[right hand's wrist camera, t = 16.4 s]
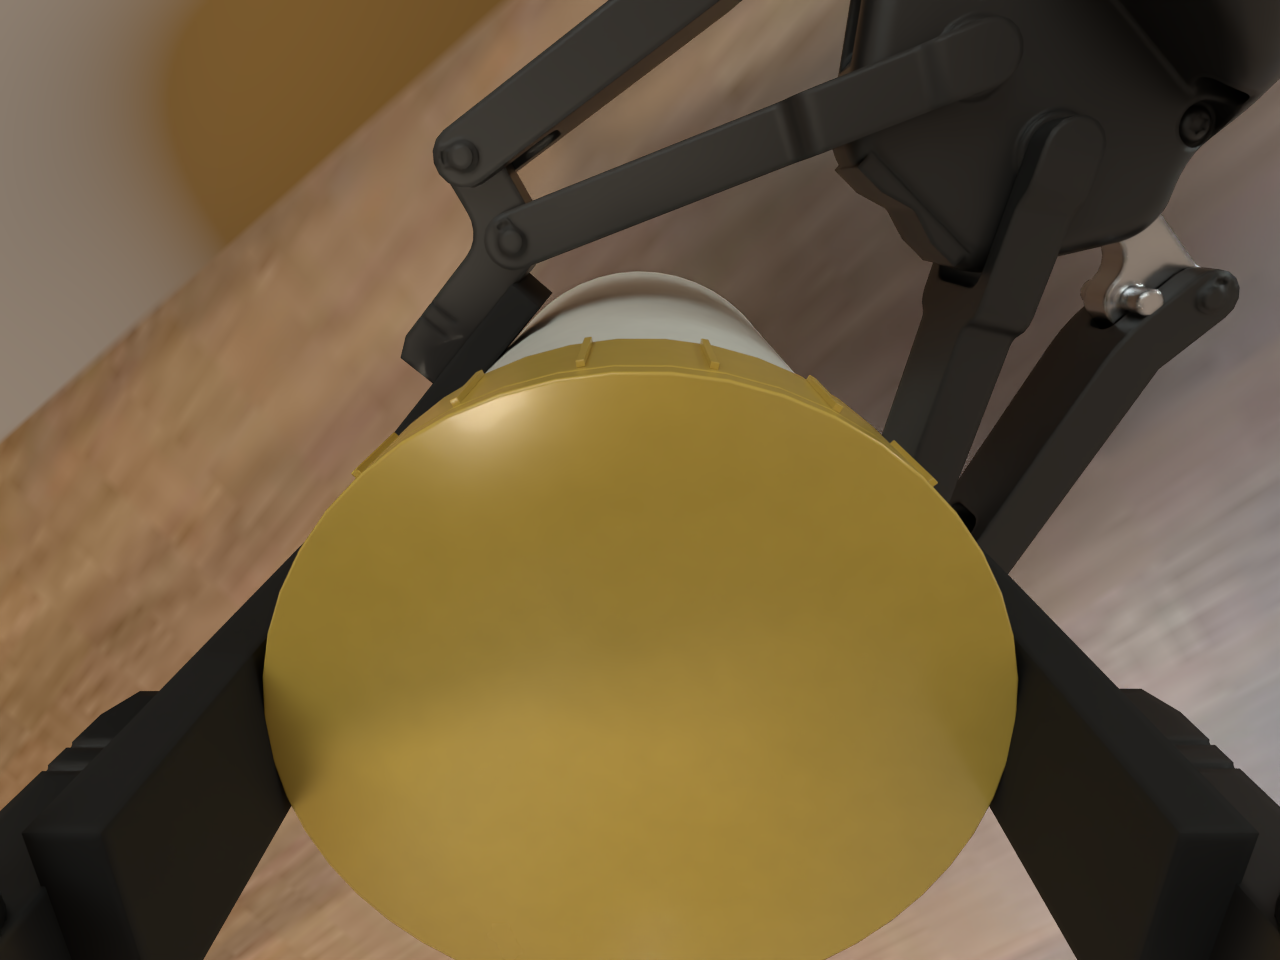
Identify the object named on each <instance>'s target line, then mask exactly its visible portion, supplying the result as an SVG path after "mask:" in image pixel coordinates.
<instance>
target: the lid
mask: <svg viewBox="0 0 1280 960" xmlns="http://www.w3.org/2000/svg"><path fill="white" fill-rule="evenodd" d="M351 474H352V475H353V476H354V477H355V478H356V479H355V480H354V481H353V482H352V483H351V484H350V485H349V486H348V487H347V488H346V490H345V491H344V492H343V493H342V494H341V495H340V496H339V497H338V498H337V499H336V500H335V501H334V502H333V503H332V505H331V506H330V507H329V508H328V509H327V510H326V511H325V513H324V514H323V516H322V517H321V519H320V520H319V521H318V523H317V524H316V526H315V527H314V529H313V530H312V532H311V533H310V535H309V536H308V538H307V539H306V541H305V542H304V543H303V545H302V546H301V548H300V549H299V551H298V553H297V556H296V558H295V560H294V561H293V564H292V566H291V568H290V570H289V573H288V575H287V577H286V579H285V581H284V583H283V585H282V587H281V590H280V592H279V596H278V599H277V603H276V606H275V610H274V613H273V617H272V620H271V624H270V627H269V631H268V635H267V644H266V652H265V661H264V669H263V695H264V714H265V720H266V725H267V730H268V735H269V740H270V744H271V749H272V754H273V759H274V763H275V766H276V769H277V771H278V774H279V777H280V780H281V782H282V785H283V788H284V791H285V793H286V796H287V798H288V800H289V802H290V804H291V805H292V807H293V809H294V811H295V813H296V815H297V817H298V818H299V820H300V822H301V824H302V826H303V828H304V830H305V832H306V833H307V834H308V836H309V837H310V838H311V840H312V841H313V843H314V844H315V845H316V847H317V848H318V849H319V851H320V852H321V854H322V855H323V856H324V858H325V859H326V860H327V862H328V863H329V865H330V866H331V867H332V868H333V869H334V870H335V871H336V872H337V873H338V874H339V875H340V876H341V877H342V878H343V879H344V880H345V882H346V883H347V884H348V885H349V886H350V887H351V888H352V889H353V890H354V891H355V892H356V893H357V894H358V895H359V896H360V897H361V898H363V899H364V900H365V901H366V902H367V903H369V904H370V905H371V906H372V907H373V908H375V909H376V910H377V911H378V912H379V913H381V914H382V915H383V916H384V917H385V918H386V919H388V920H389V921H391V922H392V923H394V924H395V925H397V926H398V927H400V928H401V929H403V930H404V931H406V932H407V933H409V934H410V935H412V936H413V937H415V938H416V939H418V940H419V941H421V942H422V943H424V944H426V945H428V946H430V947H432V948H434V949H436V950H438V951H440V952H442V953H443V954H445V955H447V956H449V957H451V958H453V959H455V960H825V959H827V958H829V957H831V956H833V955H835V954H837V953H839V952H841V951H843V950H845V949H847V948H849V947H851V946H853V945H855V944H857V943H858V942H860V941H861V940H863V939H864V938H866V937H867V936H869V935H870V934H872V933H873V932H875V931H876V930H878V929H880V928H881V927H883V926H884V925H886V924H887V923H889V922H890V921H892V920H893V919H894V918H895V917H896V916H898V915H899V914H900V913H901V912H902V911H904V910H905V909H906V908H907V907H908V906H910V905H911V904H912V903H913V902H915V901H916V900H917V899H918V898H919V897H921V896H922V895H923V894H924V893H925V892H926V891H927V890H928V889H929V887H930V886H931V885H932V884H933V883H934V882H935V881H936V880H937V879H938V878H939V877H940V876H941V875H942V874H943V873H944V872H945V871H946V870H947V869H948V868H949V866H950V865H951V864H952V863H953V861H954V860H955V859H956V857H957V856H958V854H959V853H960V852H961V850H962V849H963V848H964V846H965V845H966V844H967V842H968V841H969V840H970V838H971V837H972V835H973V834H974V833H975V831H976V829H977V827H978V825H979V823H980V822H981V820H982V818H983V816H984V814H985V812H986V811H987V809H988V807H989V805H990V803H991V801H992V800H993V798H994V795H995V792H996V790H997V787H998V784H999V782H1000V779H1001V776H1002V774H1003V771H1004V768H1005V765H1006V761H1007V756H1008V752H1009V747H1010V742H1011V737H1012V732H1013V727H1014V723H1015V717H1016V711H1017V692H1018V672H1017V663H1016V654H1015V644H1014V635H1013V632H1012V628H1011V624H1010V621H1009V617H1008V614H1007V610H1006V606H1005V603H1004V599H1003V595H1002V592H1001V590H1000V588H999V586H998V584H997V581H996V579H995V577H994V575H993V573H992V571H991V568H990V566H989V564H988V562H987V560H986V558H985V555H984V553H983V551H982V550H981V548H980V547H979V545H978V544H977V542H976V541H975V539H974V538H973V536H972V535H971V533H970V532H969V530H968V529H967V527H966V526H965V524H964V523H963V521H962V520H961V518H960V517H959V515H958V514H957V512H956V511H955V510H954V509H953V508H952V507H951V506H950V505H949V504H948V503H947V501H946V500H945V499H944V498H943V497H942V496H941V495H940V494H939V493H938V492H937V491H936V490H935V488H934V486H935V485H936V484H937V483H938V482H937V481H936V480H935V479H934V478H933V477H932V476H931V475H930V474H929V473H928V472H927V471H926V470H925V469H924V468H923V467H922V466H921V465H920V464H919V463H918V462H917V461H916V460H915V459H914V458H912V457H911V456H910V455H909V454H908V453H907V452H906V451H905V450H904V449H903V448H902V447H901V446H900V445H899V444H898V443H897V442H896V441H895V440H893V441H892V442H891V443H889V442H888V441H887V440H886V439H885V438H884V437H883V436H882V435H881V434H880V433H879V432H878V431H877V430H876V429H875V428H874V427H873V426H872V425H870V424H869V423H868V422H867V421H865V420H864V419H863V418H862V417H861V416H859V415H858V414H857V413H856V412H854V411H853V410H852V409H851V408H849V407H848V406H847V405H846V404H845V403H843V402H842V401H841V400H840V399H838V398H837V397H835V396H833V395H832V394H830V393H829V392H828V391H827V390H826V388H825V387H824V386H823V385H822V384H821V383H820V382H819V381H818V380H817V379H816V378H815V377H813V376H811V375H809V376H808V378H807V379H805V378H803V377H802V376H800V375H797V374H795V373H793V372H790V371H788V370H786V369H783V368H781V367H779V366H776V365H774V364H772V363H769V362H767V361H765V360H762V359H760V358H757V357H754V356H750V355H746V354H743V353H739V352H735V351H732V350H728V349H724V348H721V347H717V346H713V345H711V344H710V342H709V340H708V339H701V342H700V343H692V342H685V341H677V340H670V339H612V340H604V341H596V342H593V341H592V337H585V338H584V340H583V343H581V344H573V345H568V346H564V347H560V348H557V349H553V350H549V351H545V352H542V353H538V354H534V355H530V356H527V357H524V358H521V359H519V360H517V361H514V362H512V363H509V364H507V365H505V366H502V367H500V368H497V369H495V370H493V371H490V372H488V373H485V374H484V372H483V370H480V371H478V372H476V373H475V374H474V375H473V376H472V377H471V378H470V379H469V380H468V381H467V383H466V384H465V385H464V386H463V387H461V388H459V389H457V390H456V391H454V392H452V393H451V394H449V395H447V396H446V397H444V398H443V399H441V400H440V401H439V402H438V403H436V404H435V405H434V406H433V407H431V408H430V409H429V410H428V411H426V412H425V413H424V414H423V415H421V416H420V417H419V418H418V419H416V420H415V421H414V422H413V423H411V424H410V425H409V426H408V427H407V428H406V429H405V430H404V431H403V432H402V433H401V434H400V435H399V436H398V435H397V434H396V433H395V432H394V433H393V434H392V435H390V436H389V437H388V438H387V439H386V440H385V441H384V442H383V443H382V444H381V445H380V446H379V447H378V448H377V449H376V450H375V451H374V452H373V453H372V454H371V455H370V456H368V457H367V458H366V459H365V460H364V461H363V462H362V463H361V464H360V465H359V466H358V467H357V468H356V469H355V470H354V471H353V472H352V473H351Z"/></svg>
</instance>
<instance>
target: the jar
mask: <svg viewBox="0 0 1280 960" xmlns="http://www.w3.org/2000/svg"><path fill="white" fill-rule="evenodd" d="M585 337H592V341H593V342H596V341H604V340H612V339H670V340H677V341H685V342H692V343H700V342H701V339H708V340H709V342H710V344H711V345H713V346H717V347H721V348H724V349H728V350H732V351H735V352H739V353H743V354H746V355H750V356H754V357H757V358H760V359H762V360H765V361H767V362H769V363H772V364H774V365H776V366H779V367H781V368H783V369H786V370H788V371H790V372H793V371H792V370H791V368H790V367H789V366H788V365H787V364H786V363H785V362H784V360H783V359H782V358H781V357H780V356H779V355H778V354H777V353H776V351H775V350H774V349H773V348H772V347H771V346H770V345H769V343H768V342H767V341H766V340H765V339H764V338H763V337H762V335H761V334H760V333H759V332H758V331H757V330H756V329H755V328H754V326H753V325H752V324H751V323H750V322H749V321H748V320H747V318H746V317H745V316H744V315H743V314H742V313H741V312H740V311H739V310H738V309H736V308H735V307H734V306H733V305H732V304H731V303H730V302H729V301H727V300H726V299H724V298H723V297H721V296H720V295H718V294H717V293H715V292H714V291H712V290H710V289H708V288H706V287H704V286H702V285H700V284H698V283H696V282H693V281H690V280H687V279H684V278H681V277H678V276H674V275H669V274H663V273H658V272H640V271H635V272H624V273H616V274H611V275H607V276H602V277H598V278H596V279H593V280H590V281H588V282H585V283H582V284H580V285H578V286H576V287H574V288H572V289H570V290H569V291H567V292H565V293H563V294H562V295H560V296H559V297H558V298H556V299H555V300H553V301H552V302H551V303H549V304H548V305H547V306H546V307H545V308H544V309H543V310H542V311H541V312H540V313H539V314H538V315H536V316H535V317H534V318H533V320H532V321H531V322H530V323H529V324H528V325H527V326H526V328H525V329H524V330H523V331H522V332H521V333H520V334H519V335H518V337H517V338H516V339H515V340H514V341H513V342H512V343H511V345H510V346H509V347H508V348H507V349H506V350H505V351H504V353H503V354H502V355H501V356H500V357H499V358H498V359H497V361H496V362H495V363H494V364H493V365H492V366H491V367H490V369H489V370H488V371H487V372H486V373H488V372H490V371H493V370H495V369H497V368H500V367H502V366H505V365H507V364H509V363H512V362H514V361H517V360H519V359H521V358H524V357H527V356H530V355H534V354H538V353H542V352H545V351H549V350H553V349H557V348H560V347H564V346H568V345H573V344H581V343H583V340H584V338H585ZM793 373H794V372H793Z"/></svg>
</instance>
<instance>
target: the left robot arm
mask: <svg viewBox="0 0 1280 960" xmlns="http://www.w3.org/2000/svg"><path fill="white" fill-rule="evenodd" d="M741 1H742V0H608V1H607V2H606V3H605V4H603V5H602V6H601V7H599V8H598V9H597V10H596V11H594V12H593V13H592V14H591V15H589V16H588V17H587V18H585V19H584V20H583V21H582V22H580V23H579V24H578V25H577V26H575V27H574V28H573V29H571V30H570V31H569V32H568V33H566V34H565V35H564V36H563V37H561V38H560V39H559V40H557V41H556V42H555V43H554V44H552V45H551V46H550V47H549V48H547V49H546V50H545V51H544V52H542V53H541V54H540V55H538V56H537V57H536V58H535V59H533V60H532V61H531V62H530V63H528V64H527V65H526V66H524V67H523V68H522V69H521V70H519V71H518V72H517V73H516V74H514V75H513V76H512V77H510V78H509V79H508V80H507V81H505V82H504V83H503V84H502V85H500V86H499V87H498V88H496V89H495V90H494V91H493V92H491V93H490V94H489V95H488V96H486V97H485V98H484V99H482V100H481V101H480V102H479V103H477V104H476V105H475V106H474V107H472V108H471V109H470V110H469V111H467V112H466V113H465V114H463V115H462V116H461V117H460V118H458V119H457V120H456V121H455V122H453V123H452V124H451V125H449V126H448V127H447V128H446V129H444V130H443V131H442V133H441V134H440V135H439V136H438V137H437V139H436V141H435V145H434V148H433V158H434V164H435V166H436V168H437V170H438V173H439V174H440V175H441V176H442V177H443V178H444V179H445V180H446V181H447V182H448V183H450V184H451V186H452V188H453V189H454V191H455V193H456V194H457V196H458V198H459V199H460V201H461V203H462V204H463V206H464V208H465V209H466V211H467V213H468V215H469V217H470V219H471V222H472V226H473V243H472V246H471V249H470V251H469V253H468V255H467V256H466V258H465V259H464V260H463V262H462V263H461V264H460V266H459V267H458V268H457V269H456V271H455V272H454V273H453V275H452V276H451V277H450V279H449V280H448V281H447V283H446V284H445V285H444V287H443V288H442V289H441V290H440V292H439V293H438V294H437V296H436V297H435V298H434V300H433V301H432V303H431V304H430V305H429V306H428V308H427V309H426V310H425V311H424V313H423V314H422V316H421V317H420V318H419V319H418V321H417V322H416V323H415V325H414V326H413V327H412V329H411V330H410V331H409V332H408V334H407V335H406V338H405V342H404V346H403V350H402V354H401V358H402V359H403V360H404V361H405V362H407V363H408V364H409V365H410V366H412V367H413V368H414V369H415V370H417V371H418V372H419V373H420V374H422V375H423V376H424V377H426V378H427V379H428V380H429V381H431V382H432V383H433V384H432V386H431V387H430V388H429V389H428V391H427V392H426V393H425V394H424V396H423V397H422V398H421V399H420V401H419V402H418V403H417V404H416V406H415V407H414V408H413V410H412V411H411V412H410V413H409V415H408V416H407V417H406V418H405V420H404V421H403V422H402V423H401V425H400V426H399V427H398V428H397V430H396V431H395V433H396V434H397V435H398V436H399V435H400V434H401V433H402V432H403V431H404V430H405V429H406V428H407V427H408V426H409V425H410V424H411V423H413V422H414V421H415V420H416V419H418V418H419V417H420V416H421V415H423V414H424V413H425V412H426V411H428V410H429V409H430V408H431V407H433V406H434V405H435V404H436V403H438V402H439V401H440V400H441V399H443V398H444V397H446V396H447V395H449V394H451V393H452V392H454V391H456V390H457V389H459V388H461V387H463V386H464V385H465V384H466V383H467V381H468V380H469V379H470V378H471V377H472V376H473V375H474V374H475V373H476V372H478V371H480V370H483V372H484V374H485V373H486V372H487V371H488V370H489V369H490V367H491V366H492V365H493V364H494V363H495V362H496V361H497V359H498V358H499V357H500V356H501V355H502V354H503V353H504V351H505V350H506V349H507V348H508V347H509V346H510V344H511V343H512V342H513V341H514V339H515V338H516V337H517V336H518V334H519V333H520V332H521V331H522V330H523V328H524V327H525V326H526V325H527V323H528V322H529V321H530V320H531V318H532V317H533V316H534V315H535V314H536V312H537V311H538V310H539V309H540V307H541V306H542V305H543V304H544V302H545V301H546V300H547V299H548V298H549V296H550V295H551V294H552V292H551V291H550V290H549V289H547V288H546V287H545V286H544V285H543V284H542V283H540V282H539V281H538V280H537V279H536V278H535V277H534V276H532V275H531V274H530V271H531V270H532V269H533V268H534V266H535V265H536V264H537V263H539V262H542V261H544V260H547V259H549V258H552V257H554V256H557V255H560V254H562V253H565V252H567V251H570V250H572V249H575V248H578V247H580V246H583V245H585V244H588V243H590V242H593V241H596V240H598V239H601V238H603V237H606V236H608V235H611V234H614V233H616V232H619V231H621V230H624V229H626V228H629V227H632V226H634V225H637V224H639V223H642V222H644V221H647V220H650V219H652V218H655V217H657V216H660V215H662V214H665V213H668V212H670V211H673V210H675V209H678V208H680V207H683V206H686V205H688V204H691V203H693V202H696V201H698V200H701V199H704V198H706V197H709V196H711V195H714V194H716V193H719V192H722V191H724V190H727V189H729V188H732V187H734V186H737V185H740V184H742V183H745V182H747V181H750V180H752V179H755V178H758V177H760V176H763V175H765V174H768V173H770V172H773V171H776V170H778V169H781V168H783V167H786V166H788V165H791V164H794V163H796V162H799V161H802V160H805V159H808V158H810V157H813V156H816V155H819V154H821V153H824V152H826V151H829V150H832V149H833V152H834V155H835V158H836V160H837V162H838V164H839V166H838V167H837V168H836V169H835V171H836V172H837V173H838V174H839V175H840V176H841V177H842V178H843V179H844V180H845V181H846V182H847V183H848V184H849V185H850V186H851V187H852V188H853V189H854V190H855V191H856V192H857V193H858V194H860V195H862V196H864V197H866V198H867V199H869V200H871V201H873V202H875V203H876V204H878V205H880V206H882V207H884V208H885V209H886V210H887V211H888V213H889V215H890V217H891V219H892V221H893V223H894V224H895V226H896V228H897V230H898V232H899V234H900V236H901V238H902V239H903V240H904V241H905V242H906V243H907V244H908V245H909V246H910V247H911V248H912V249H913V250H914V251H915V252H916V253H917V254H918V255H919V256H920V257H921V259H922V260H925V261H930V262H933V265H932V268H931V271H930V274H929V277H928V280H927V282H926V285H925V289H924V292H923V298H922V304H923V316H922V320H921V323H920V326H919V329H918V332H917V334H916V337H915V340H914V343H913V346H912V349H911V352H910V355H909V358H908V361H907V364H906V366H905V369H904V372H903V375H902V378H901V381H900V384H899V387H898V390H897V393H896V396H895V399H894V401H893V404H892V407H891V410H890V413H889V416H888V419H887V422H886V425H885V428H884V431H883V434H882V436H883V437H884V438H885V439H886V440H887V441H888V442H889V443H891V442H892V441H893V440H895V441H896V442H897V443H898V444H899V445H900V446H901V447H902V448H903V449H904V450H905V451H906V452H907V453H908V454H909V455H910V456H911V457H912V458H914V459H915V460H916V461H917V462H918V463H919V464H920V465H921V466H922V467H923V468H924V469H925V470H926V471H927V472H928V473H929V474H930V475H931V476H932V477H933V478H934V479H935V480H936V481H937V482H938V483H937V484H936V485H935V486H934V488H935V490H936V491H937V492H938V493H939V494H940V495H941V496H942V497H943V498H944V499H945V500H946V501H947V503H948V504H949V505H950V506H951V507H952V508H953V509H954V510H955V511H956V512H957V514H958V515H959V517H960V518H961V520H962V521H963V523H964V524H965V526H966V527H967V529H968V530H969V532H970V533H971V535H972V536H973V538H974V539H975V541H976V542H977V543H978V545H979V546H980V547H981V548H982V549H983V550H984V551H985V552H986V553H987V554H988V555H989V556H990V557H991V558H992V559H993V560H994V561H995V562H996V563H997V564H998V565H999V566H1000V567H1001V568H1002V569H1003V570H1004V571H1005V572H1006V573H1007V574H1008V573H1009V572H1010V571H1011V569H1012V568H1013V567H1014V565H1015V564H1016V562H1017V561H1018V560H1019V558H1020V557H1021V556H1022V554H1023V553H1024V552H1025V550H1026V549H1027V547H1028V546H1029V545H1030V543H1031V542H1032V541H1033V539H1034V538H1035V537H1036V535H1037V534H1038V532H1039V531H1040V530H1041V528H1042V527H1043V526H1044V524H1045V523H1046V522H1047V520H1048V519H1049V518H1050V516H1051V515H1052V513H1053V512H1054V511H1055V509H1056V508H1057V507H1058V505H1059V504H1060V503H1061V501H1062V500H1063V498H1064V497H1065V496H1066V494H1067V493H1068V492H1069V490H1070V489H1071V488H1072V486H1073V485H1074V483H1075V482H1076V481H1077V479H1078V478H1079V477H1080V475H1081V474H1082V473H1083V471H1084V470H1085V469H1086V467H1087V466H1088V464H1089V463H1090V462H1091V460H1092V459H1093V458H1094V456H1095V455H1096V454H1097V452H1098V451H1099V449H1100V448H1101V447H1102V445H1103V444H1104V443H1105V441H1106V440H1107V439H1108V437H1109V436H1110V434H1111V433H1112V432H1113V430H1114V429H1115V428H1116V426H1117V425H1118V424H1119V422H1120V421H1121V419H1122V418H1123V417H1124V415H1125V414H1126V413H1127V411H1128V410H1129V409H1130V407H1131V406H1132V405H1133V403H1134V402H1135V400H1136V399H1137V398H1138V396H1139V395H1140V394H1141V392H1142V391H1143V390H1144V388H1145V387H1146V385H1147V384H1148V383H1149V381H1150V380H1151V379H1152V377H1153V376H1154V375H1155V373H1156V372H1157V370H1158V369H1159V368H1161V367H1162V366H1163V365H1165V364H1166V363H1167V362H1168V361H1170V360H1171V359H1172V358H1174V357H1175V356H1176V355H1177V354H1179V353H1180V352H1181V351H1183V350H1184V349H1185V348H1186V347H1188V346H1189V345H1190V344H1192V343H1193V342H1194V341H1195V340H1197V339H1198V338H1199V337H1201V336H1202V335H1203V334H1204V333H1206V332H1207V331H1208V330H1210V329H1211V328H1212V327H1214V326H1215V325H1216V324H1217V323H1219V322H1220V321H1221V320H1223V319H1224V318H1225V317H1226V316H1227V315H1228V314H1229V313H1230V312H1231V311H1232V310H1233V309H1234V307H1235V304H1236V302H1237V300H1238V298H1239V288H1240V287H1239V285H1238V282H1237V279H1236V278H1235V277H1234V276H1233V275H1232V274H1231V273H1230V272H1228V271H1224V270H1220V269H1212V268H1204V267H1199V266H1197V265H1196V264H1195V263H1194V261H1193V260H1192V258H1191V257H1190V256H1189V254H1188V253H1187V251H1186V250H1185V248H1184V247H1183V245H1182V244H1181V242H1180V241H1179V239H1178V238H1177V237H1176V235H1175V234H1174V232H1173V231H1172V229H1171V228H1170V226H1169V225H1168V223H1167V222H1166V221H1165V219H1164V218H1163V216H1162V215H1161V213H1162V212H1163V210H1164V209H1165V207H1166V205H1167V204H1168V202H1169V199H1170V197H1171V195H1172V192H1173V190H1174V187H1175V185H1176V183H1177V181H1178V178H1179V176H1180V174H1181V173H1182V171H1183V169H1184V168H1185V166H1186V164H1187V163H1188V161H1189V160H1190V159H1191V157H1192V156H1193V155H1194V153H1195V152H1196V151H1197V150H1198V149H1199V148H1200V147H1201V146H1202V145H1203V144H1204V143H1205V142H1207V141H1208V140H1209V139H1210V138H1211V137H1213V136H1214V135H1215V134H1216V133H1218V132H1219V131H1220V130H1222V129H1223V128H1224V127H1225V126H1227V125H1228V124H1229V123H1230V122H1232V121H1233V120H1234V119H1235V118H1237V117H1238V116H1239V115H1240V114H1242V113H1243V112H1244V111H1245V110H1246V109H1248V108H1249V107H1250V106H1251V105H1252V104H1253V103H1255V102H1256V101H1257V100H1258V99H1259V98H1260V97H1261V96H1262V95H1263V94H1264V93H1265V92H1266V91H1267V90H1268V89H1269V88H1270V87H1271V86H1272V85H1273V84H1274V83H1276V82H1277V81H1278V80H1279V79H1280V0H850V7H849V13H848V19H847V25H846V31H845V38H844V44H843V50H842V56H841V63H840V69H839V75H838V78H835V79H833V80H830V81H828V82H825V83H823V84H820V85H818V86H815V87H813V88H810V89H808V90H805V91H803V92H801V93H798V94H796V95H794V96H792V97H789V98H787V99H785V100H783V101H780V102H778V103H776V104H773V105H771V106H768V107H766V108H763V109H761V110H758V111H756V112H753V113H751V114H748V115H746V116H743V117H741V118H738V119H736V120H733V121H731V122H728V123H726V124H723V125H721V126H718V127H716V128H713V129H711V130H708V131H706V132H703V133H701V134H698V135H696V136H693V137H691V138H688V139H686V140H683V141H681V142H678V143H676V144H673V145H671V146H668V147H666V148H663V149H661V150H658V151H656V152H653V153H651V154H648V155H646V156H643V157H641V158H638V159H636V160H633V161H631V162H628V163H626V164H623V165H621V166H618V167H616V168H613V169H611V170H608V171H606V172H603V173H601V174H598V175H596V176H593V177H591V178H588V179H586V180H583V181H581V182H578V183H576V184H573V185H571V186H568V187H566V188H563V189H561V190H558V191H556V192H553V193H551V194H548V195H546V196H543V197H541V198H538V199H536V200H533V201H532V199H531V197H530V195H529V194H528V192H527V190H526V188H525V186H524V185H523V183H522V181H521V179H520V178H519V176H518V174H517V171H518V170H520V169H521V168H522V167H524V166H525V165H526V164H528V163H529V162H530V161H532V160H533V159H534V158H536V157H537V156H538V155H540V154H541V153H542V152H544V151H545V150H546V149H547V148H549V147H550V146H551V145H553V144H554V143H555V142H557V141H558V140H559V139H561V138H562V137H563V136H565V135H566V134H567V133H569V132H570V131H571V130H573V129H574V128H575V127H577V126H578V125H579V124H581V123H582V122H583V121H585V120H586V119H587V118H589V117H590V116H591V115H593V114H594V113H595V112H597V111H598V110H599V109H600V108H602V107H603V106H604V105H606V104H607V103H608V102H610V101H611V100H612V99H614V98H615V97H616V96H618V95H619V94H620V93H622V92H623V91H624V90H626V89H627V88H628V87H630V86H631V85H632V84H634V83H635V82H636V81H638V80H639V79H640V78H642V77H643V76H644V75H646V74H647V73H648V72H649V71H651V70H652V69H653V68H655V67H656V66H657V65H659V64H660V63H661V62H663V61H664V60H665V59H667V58H668V57H669V56H671V55H672V54H673V53H675V52H676V51H677V50H679V49H680V48H681V47H683V46H684V45H685V44H687V43H688V42H689V41H691V40H692V39H693V38H695V37H696V36H697V35H699V34H700V33H701V32H702V31H704V30H705V29H706V28H708V27H709V26H710V25H712V24H713V23H714V22H716V21H717V20H718V19H720V18H721V17H722V16H724V15H725V14H726V13H728V12H729V11H730V10H731V9H732V8H734V7H735V6H736V5H737V4H738V3H739V2H741ZM1100 246H1101V249H1102V261H1101V265H1100V267H1099V269H1098V272H1097V273H1096V274H1095V275H1094V277H1093V278H1092V279H1091V280H1088V281H1087V282H1086V283H1084V284H1083V286H1082V288H1081V293H1080V295H1081V298H1082V300H1083V301H1084V307H1083V308H1082V309H1081V310H1080V311H1079V312H1077V313H1076V314H1075V315H1074V316H1073V317H1072V318H1071V319H1070V321H1069V322H1068V323H1067V324H1066V325H1065V326H1064V327H1063V328H1062V329H1061V330H1060V332H1059V333H1058V334H1057V336H1056V337H1055V338H1054V340H1053V341H1052V342H1051V344H1050V345H1049V346H1048V348H1047V349H1046V351H1045V352H1044V354H1043V355H1042V357H1041V358H1040V360H1039V361H1038V363H1037V364H1036V366H1035V367H1034V369H1033V370H1032V372H1031V373H1030V375H1029V376H1028V378H1027V379H1026V380H1025V382H1024V383H1023V385H1022V386H1021V388H1020V389H1019V391H1018V392H1017V394H1016V395H1015V397H1014V398H1013V400H1012V401H1011V403H1010V404H1009V406H1008V407H1007V409H1006V410H1005V412H1004V413H1003V414H1002V416H1001V417H1000V419H999V420H998V422H997V423H996V425H995V426H994V428H993V429H992V431H991V432H990V434H989V435H988V437H987V438H986V440H985V441H984V443H983V444H982V446H981V447H980V448H979V450H978V451H977V453H976V454H975V456H974V457H973V459H972V460H971V462H970V463H969V465H968V466H967V468H966V469H965V471H964V472H963V474H962V475H961V477H960V478H959V476H960V474H961V471H962V469H963V466H964V463H965V461H966V458H967V456H968V453H969V450H970V448H971V445H972V443H973V440H974V438H975V435H976V432H977V430H978V427H979V425H980V422H981V419H982V417H983V414H984V412H985V409H986V407H987V404H988V401H989V399H990V396H991V394H992V391H993V389H994V386H995V383H996V381H997V378H998V376H999V373H1000V370H1001V368H1002V365H1003V363H1004V360H1005V358H1006V355H1007V352H1008V350H1009V347H1010V345H1011V343H1012V342H1013V340H1014V339H1015V338H1016V337H1018V336H1019V335H1020V334H1022V333H1023V332H1024V331H1025V330H1026V329H1027V328H1028V326H1029V325H1030V323H1031V321H1032V319H1033V317H1034V314H1035V312H1036V309H1037V307H1038V304H1039V302H1040V299H1041V297H1042V294H1043V292H1044V289H1045V286H1046V284H1047V281H1048V279H1049V276H1050V274H1051V271H1052V269H1053V266H1054V264H1055V261H1056V258H1057V256H1061V255H1066V254H1070V253H1074V252H1079V251H1083V250H1087V249H1092V248H1096V247H1100ZM958 479H959V480H958Z"/></svg>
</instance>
